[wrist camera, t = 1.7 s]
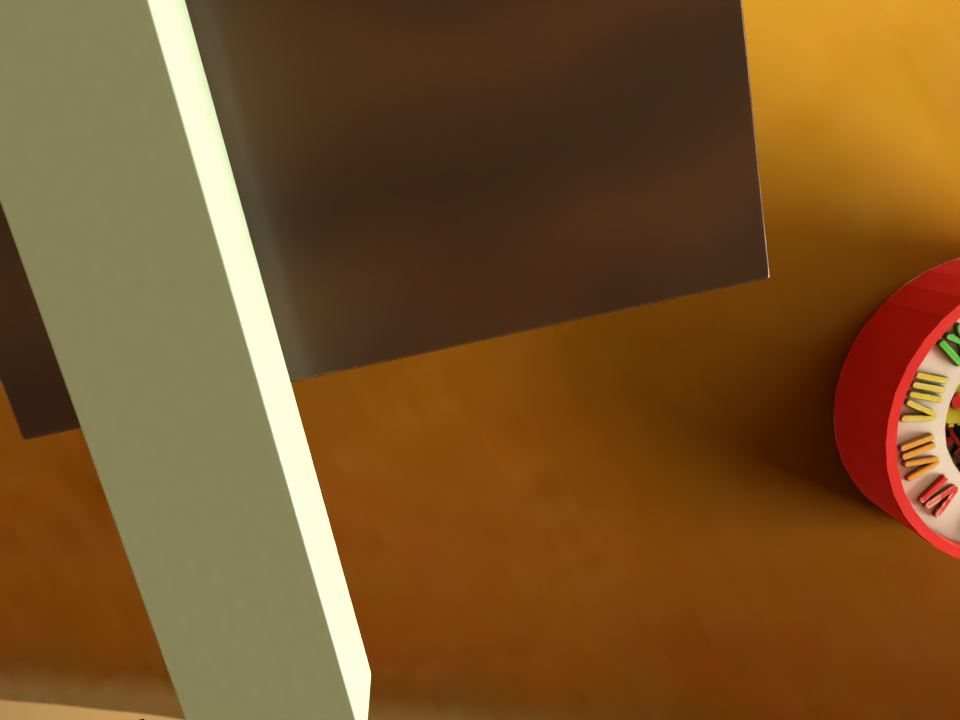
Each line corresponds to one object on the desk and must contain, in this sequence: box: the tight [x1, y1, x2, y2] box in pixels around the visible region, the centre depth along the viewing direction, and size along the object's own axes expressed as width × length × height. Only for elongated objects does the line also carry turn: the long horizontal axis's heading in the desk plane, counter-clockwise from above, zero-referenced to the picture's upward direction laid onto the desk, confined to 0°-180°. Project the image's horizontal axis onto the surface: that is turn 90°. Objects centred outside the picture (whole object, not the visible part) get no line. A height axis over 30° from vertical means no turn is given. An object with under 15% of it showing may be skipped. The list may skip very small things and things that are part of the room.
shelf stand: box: [0, 0, 770, 439], centre depth 32 cm, size 10×20×28 cm, turn 101°
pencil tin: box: [0, 0, 371, 720], centre depth 17 cm, size 22×4×3 cm, turn 11°
